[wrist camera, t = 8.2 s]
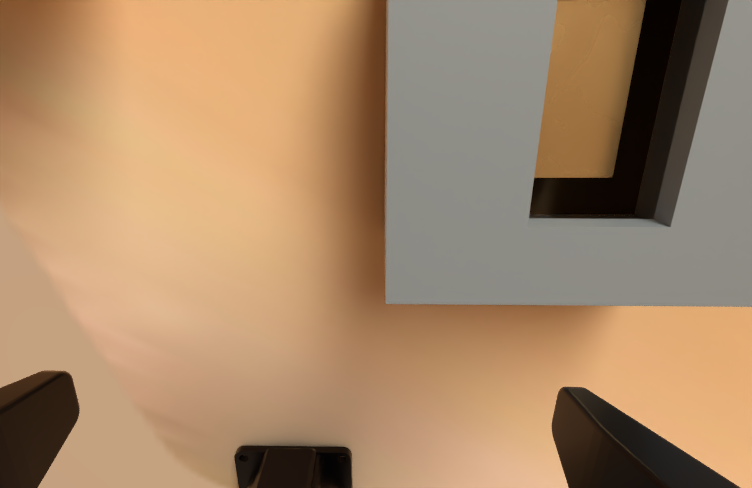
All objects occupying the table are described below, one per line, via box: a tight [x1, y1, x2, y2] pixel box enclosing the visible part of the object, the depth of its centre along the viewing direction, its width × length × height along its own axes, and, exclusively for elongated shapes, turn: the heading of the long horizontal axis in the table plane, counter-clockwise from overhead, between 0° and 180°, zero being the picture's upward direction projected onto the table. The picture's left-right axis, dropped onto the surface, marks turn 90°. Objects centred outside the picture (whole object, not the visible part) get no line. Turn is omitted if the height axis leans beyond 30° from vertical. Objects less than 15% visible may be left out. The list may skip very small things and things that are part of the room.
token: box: [534, 0, 646, 178], centre depth 15 cm, size 5×2×5 cm, turn 0°
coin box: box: [384, 0, 752, 307], centre depth 14 cm, size 12×12×7 cm
